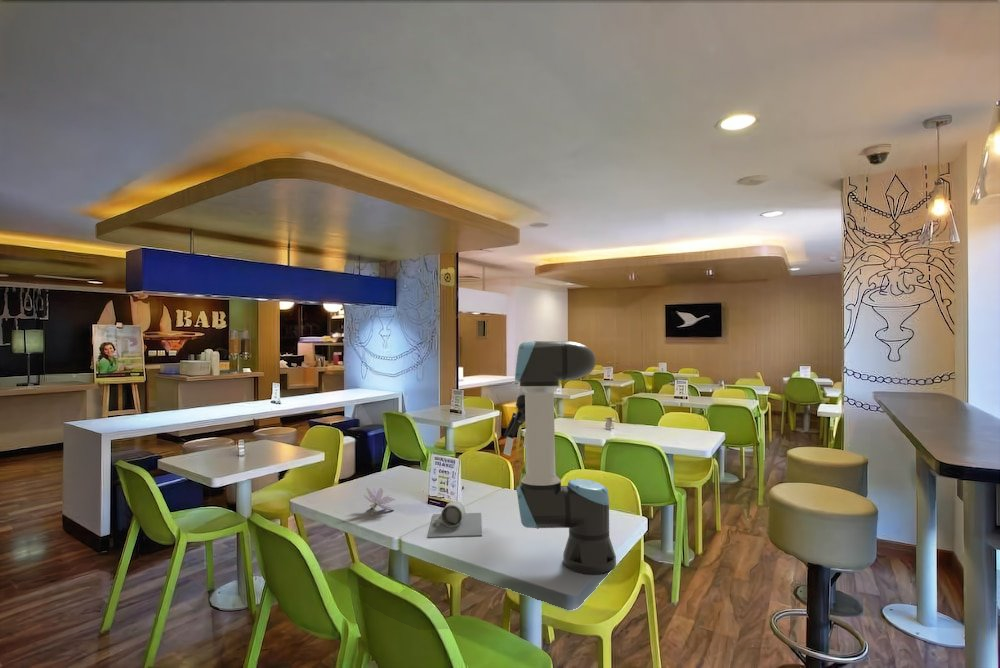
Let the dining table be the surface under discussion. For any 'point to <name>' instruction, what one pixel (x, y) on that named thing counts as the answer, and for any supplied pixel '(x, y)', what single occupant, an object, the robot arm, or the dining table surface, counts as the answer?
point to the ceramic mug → (451, 514)
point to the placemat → (457, 527)
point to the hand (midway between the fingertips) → (516, 451)
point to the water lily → (378, 499)
